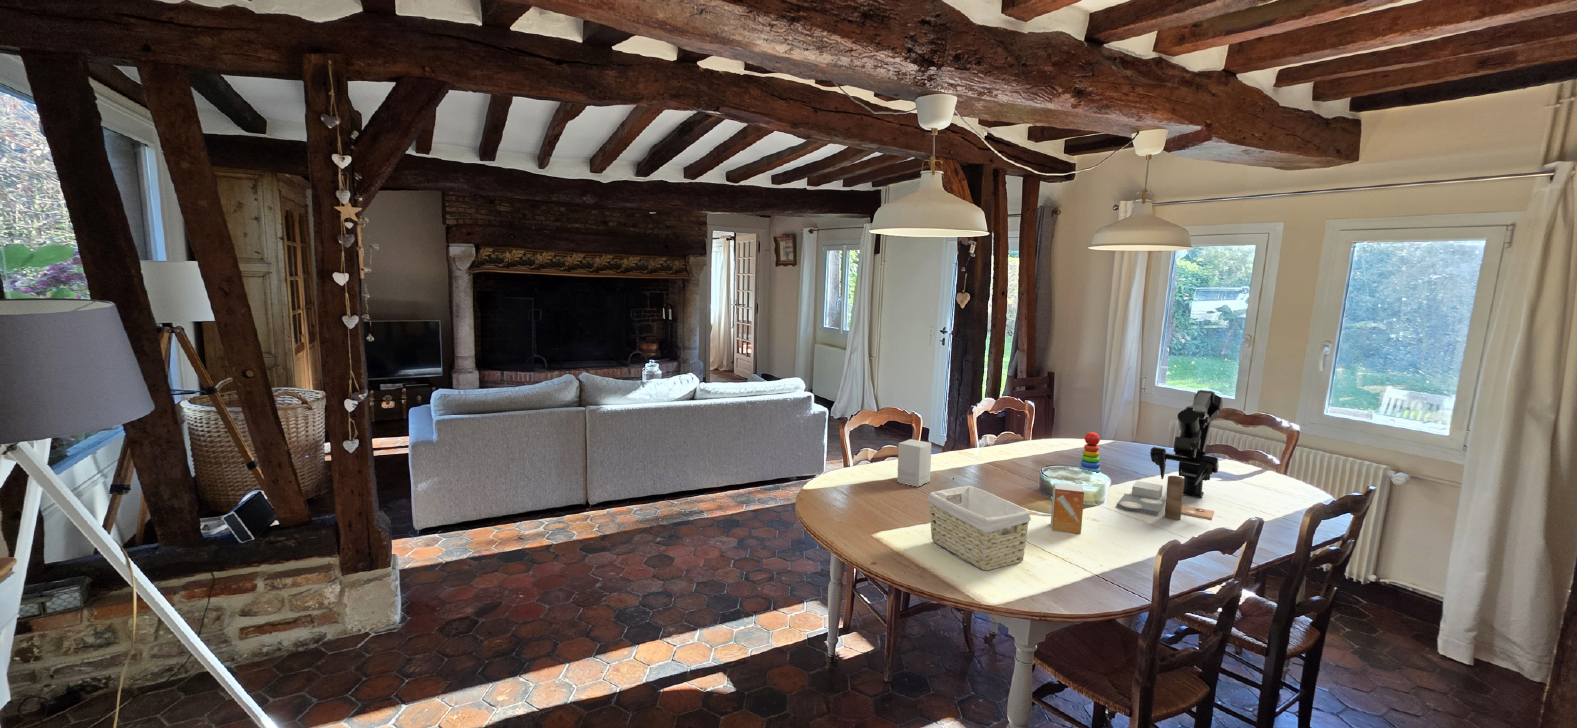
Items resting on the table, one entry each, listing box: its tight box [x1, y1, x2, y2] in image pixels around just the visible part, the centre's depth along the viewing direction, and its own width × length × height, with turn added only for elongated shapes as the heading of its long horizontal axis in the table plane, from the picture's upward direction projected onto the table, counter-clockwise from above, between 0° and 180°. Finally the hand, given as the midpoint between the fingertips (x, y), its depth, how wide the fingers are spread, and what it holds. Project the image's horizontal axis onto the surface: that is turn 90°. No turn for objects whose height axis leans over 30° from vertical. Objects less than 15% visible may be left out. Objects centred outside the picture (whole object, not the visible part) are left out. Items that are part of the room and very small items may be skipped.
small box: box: [1050, 482, 1085, 535], centre depth 198 cm, size 8×6×13 cm
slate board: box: [1116, 493, 1165, 516], centre depth 219 cm, size 15×12×1 cm
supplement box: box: [897, 438, 932, 487], centre depth 241 cm, size 9×9×15 cm
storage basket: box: [927, 485, 1032, 571], centre depth 180 cm, size 24×16×15 cm
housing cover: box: [1131, 480, 1163, 500], centre depth 228 cm, size 8×8×4 cm
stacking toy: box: [1079, 431, 1101, 473], centre depth 244 cm, size 8×8×19 cm
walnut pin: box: [1163, 475, 1184, 521], centre depth 208 cm, size 4×4×13 cm
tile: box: [1181, 504, 1215, 520], centre depth 214 cm, size 8×10×1 cm
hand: (1178, 481), depth 211 cm, fingers open, 9 cm apart
